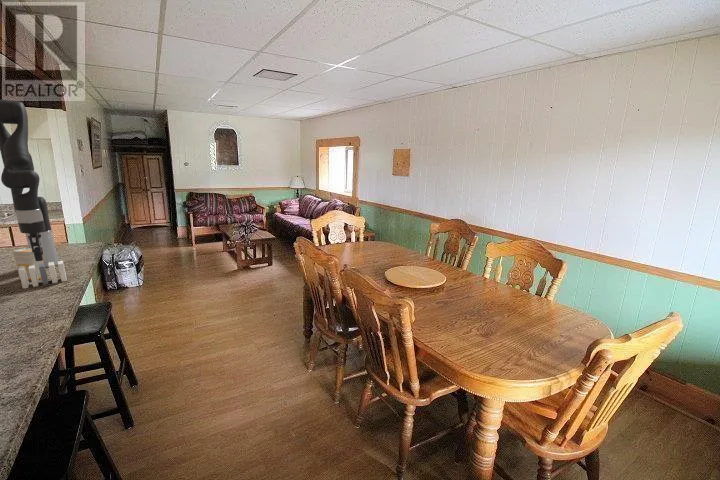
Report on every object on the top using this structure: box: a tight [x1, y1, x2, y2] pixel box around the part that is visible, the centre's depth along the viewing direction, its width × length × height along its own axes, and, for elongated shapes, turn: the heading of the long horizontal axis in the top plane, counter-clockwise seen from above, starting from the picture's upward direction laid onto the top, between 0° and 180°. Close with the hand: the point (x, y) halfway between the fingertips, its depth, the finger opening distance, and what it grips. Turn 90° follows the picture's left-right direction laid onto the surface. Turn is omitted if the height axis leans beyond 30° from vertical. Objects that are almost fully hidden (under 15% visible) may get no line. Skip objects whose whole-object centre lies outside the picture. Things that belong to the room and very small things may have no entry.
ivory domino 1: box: [17, 266, 30, 289], centre depth 138 cm, size 5×2×8 cm, turn 42°
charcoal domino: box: [39, 263, 49, 286], centre depth 142 cm, size 5×2×8 cm, turn 42°
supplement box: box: [12, 247, 43, 281], centre depth 146 cm, size 8×5×13 cm, turn 84°
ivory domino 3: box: [48, 262, 59, 284], centre depth 144 cm, size 5×2×8 cm, turn 42°
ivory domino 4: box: [57, 260, 68, 283], centre depth 146 cm, size 5×2×8 cm, turn 42°
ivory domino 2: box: [29, 265, 40, 288], centre depth 140 cm, size 5×2×8 cm, turn 42°
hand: (39, 257), depth 140 cm, fingers open, 8 cm apart
